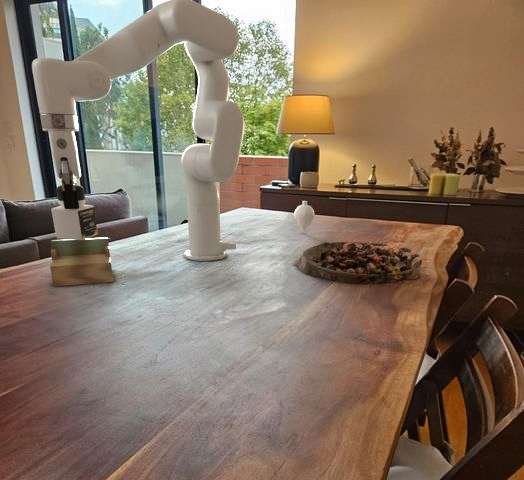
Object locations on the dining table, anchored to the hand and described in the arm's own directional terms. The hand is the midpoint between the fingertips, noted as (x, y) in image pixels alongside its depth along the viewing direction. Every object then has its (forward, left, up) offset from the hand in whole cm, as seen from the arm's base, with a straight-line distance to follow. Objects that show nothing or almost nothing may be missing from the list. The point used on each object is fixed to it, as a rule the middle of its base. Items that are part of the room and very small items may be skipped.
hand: (72, 205), depth 109 cm
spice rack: (0, -2, -18) cm, 18 cm away
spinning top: (-79, -42, -18) cm, 91 cm away
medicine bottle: (0, 0, -7) cm, 7 cm away
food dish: (-74, +9, -18) cm, 76 cm away
